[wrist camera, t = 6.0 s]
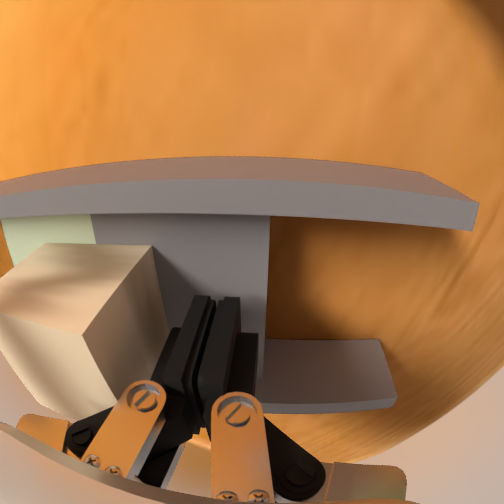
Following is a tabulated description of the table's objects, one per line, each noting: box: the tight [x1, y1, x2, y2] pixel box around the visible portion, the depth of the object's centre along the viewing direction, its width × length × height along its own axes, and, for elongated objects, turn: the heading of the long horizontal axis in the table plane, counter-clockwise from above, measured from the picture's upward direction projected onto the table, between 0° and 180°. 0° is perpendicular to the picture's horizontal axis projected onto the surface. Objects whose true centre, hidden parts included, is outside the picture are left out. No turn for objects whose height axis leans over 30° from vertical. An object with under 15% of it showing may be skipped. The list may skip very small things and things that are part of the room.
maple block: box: [0, 243, 170, 421], centre depth 9 cm, size 6×6×5 cm
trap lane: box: [0, 157, 479, 414], centre depth 12 cm, size 28×11×4 cm, turn 89°
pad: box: [0, 214, 96, 266], centre depth 13 cm, size 7×9×3 cm
